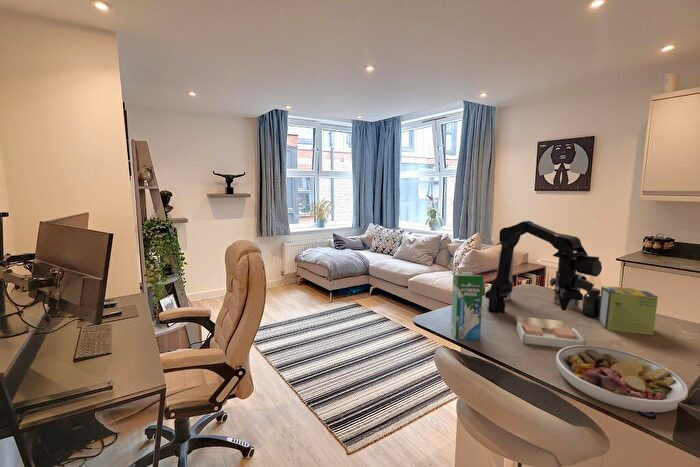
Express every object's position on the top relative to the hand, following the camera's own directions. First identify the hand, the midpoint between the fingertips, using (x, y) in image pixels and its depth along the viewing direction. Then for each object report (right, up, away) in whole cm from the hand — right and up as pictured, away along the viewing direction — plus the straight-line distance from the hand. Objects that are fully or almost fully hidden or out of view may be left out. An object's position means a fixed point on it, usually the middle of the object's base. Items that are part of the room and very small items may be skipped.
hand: (563, 310), depth 129 cm
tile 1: (-10, -10, +3) cm, 14 cm away
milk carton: (-36, -11, +5) cm, 38 cm away
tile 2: (0, -10, 0) cm, 10 cm away
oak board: (-3, -9, +10) cm, 14 cm away
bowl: (-3, -16, -29) cm, 33 cm away
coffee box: (+23, -6, +35) cm, 42 cm away
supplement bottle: (+26, -8, +23) cm, 36 cm away
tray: (-6, -11, -1) cm, 12 cm away
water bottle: (-2, -5, +44) cm, 44 cm away
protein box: (+31, -9, +10) cm, 34 cm away
